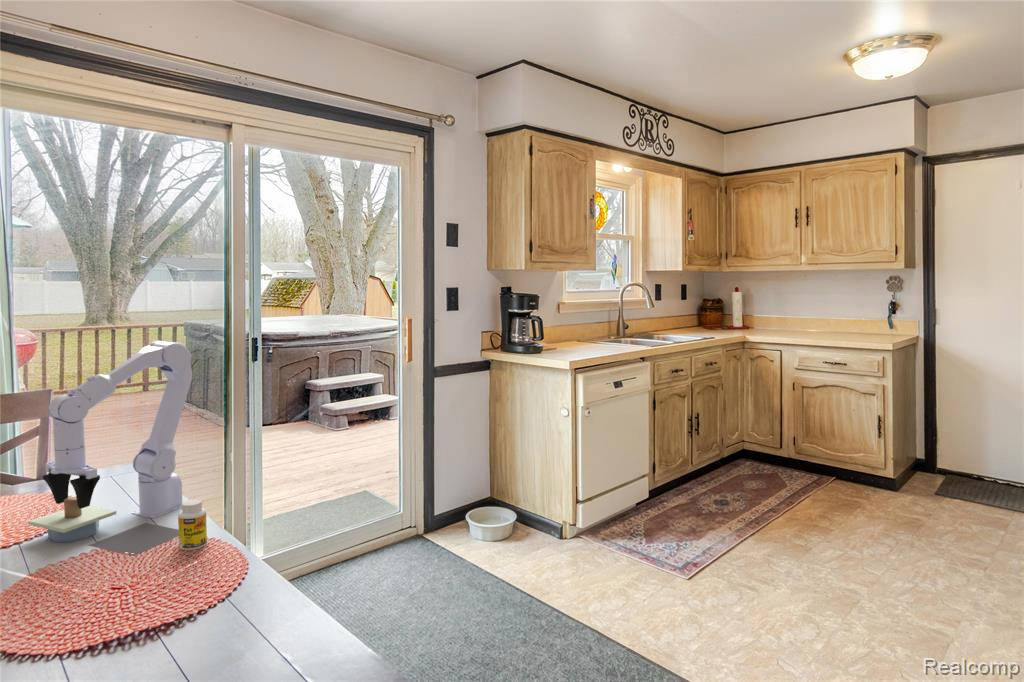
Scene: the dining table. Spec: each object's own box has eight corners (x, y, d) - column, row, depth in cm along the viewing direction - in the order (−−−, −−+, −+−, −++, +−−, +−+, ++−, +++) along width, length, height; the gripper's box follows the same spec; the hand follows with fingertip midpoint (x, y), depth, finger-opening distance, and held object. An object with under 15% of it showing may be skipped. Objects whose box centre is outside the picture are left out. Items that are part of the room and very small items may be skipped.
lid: (82, 506, 150) (81, 487, 149) (116, 514, 145) (115, 494, 145) (28, 524, 138) (27, 503, 138) (63, 532, 134) (62, 511, 134)
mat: (145, 524, 150) (145, 522, 149) (188, 533, 145) (188, 531, 145) (88, 546, 136) (88, 545, 136) (133, 557, 132) (133, 555, 132)
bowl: (80, 525, 148) (79, 509, 148) (107, 531, 145) (106, 515, 145) (40, 540, 140) (39, 523, 139) (67, 546, 137) (66, 529, 136)
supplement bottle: (180, 553, 134) (178, 508, 133) (178, 544, 138) (176, 500, 137) (208, 548, 137) (207, 503, 136) (205, 539, 141) (204, 496, 140)
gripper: (30, 448, 139) (33, 506, 140) (73, 455, 134) (76, 515, 135) (62, 441, 146) (65, 496, 147) (104, 447, 141) (107, 504, 142)
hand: (72, 504), depth 142 cm, fingers open, 7 cm apart
